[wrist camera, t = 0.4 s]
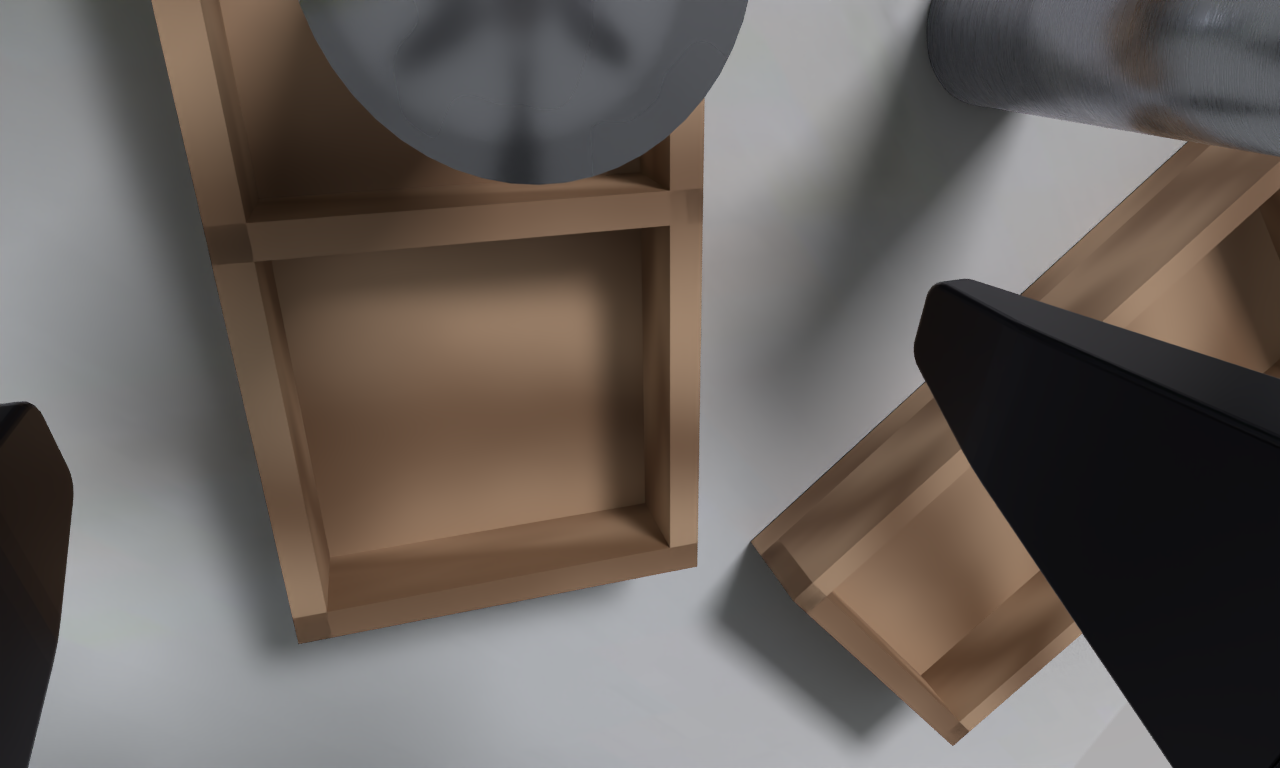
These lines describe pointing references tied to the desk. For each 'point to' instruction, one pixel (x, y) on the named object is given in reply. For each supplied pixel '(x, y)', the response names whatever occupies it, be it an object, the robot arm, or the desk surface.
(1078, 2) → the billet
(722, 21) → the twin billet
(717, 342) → the desk surface
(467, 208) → the brown shallow tray
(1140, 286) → the wooden divided tray
